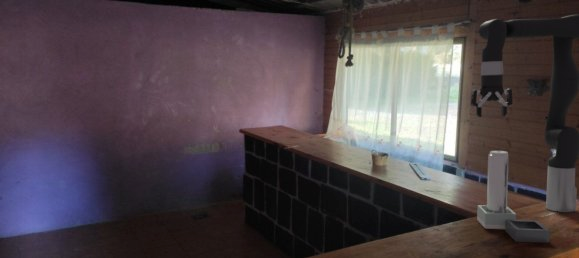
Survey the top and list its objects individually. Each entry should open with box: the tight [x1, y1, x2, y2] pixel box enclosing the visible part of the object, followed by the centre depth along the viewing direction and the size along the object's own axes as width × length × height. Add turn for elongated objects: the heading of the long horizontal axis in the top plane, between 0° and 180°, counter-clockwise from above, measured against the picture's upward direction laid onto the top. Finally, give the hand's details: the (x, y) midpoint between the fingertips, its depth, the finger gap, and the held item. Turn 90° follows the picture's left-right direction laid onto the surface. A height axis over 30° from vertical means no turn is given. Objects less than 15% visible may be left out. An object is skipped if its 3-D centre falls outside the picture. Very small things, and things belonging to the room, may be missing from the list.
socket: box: [504, 219, 551, 244], centre depth 143 cm, size 10×10×4 cm
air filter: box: [486, 150, 510, 213], centre depth 155 cm, size 6×6×25 cm
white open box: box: [476, 204, 517, 230], centre depth 156 cm, size 10×10×6 cm
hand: (491, 116), depth 166 cm, fingers open, 8 cm apart
